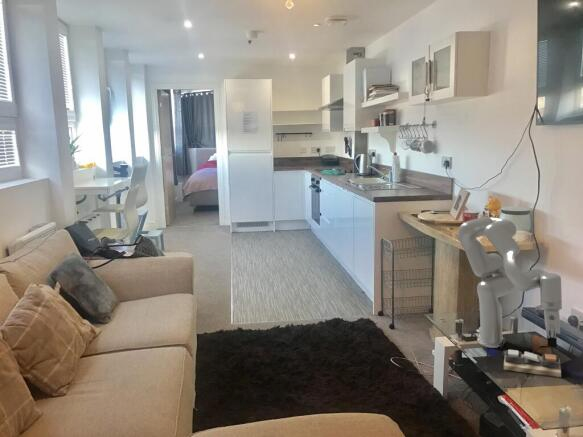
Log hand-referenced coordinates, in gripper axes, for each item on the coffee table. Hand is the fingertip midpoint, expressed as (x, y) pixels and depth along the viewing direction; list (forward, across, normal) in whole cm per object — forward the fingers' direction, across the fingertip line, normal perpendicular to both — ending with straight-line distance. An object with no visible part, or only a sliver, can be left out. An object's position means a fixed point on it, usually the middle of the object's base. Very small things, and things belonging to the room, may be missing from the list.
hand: (552, 346), depth 189 cm
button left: (+7, +1, +15) cm, 16 cm away
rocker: (+6, +1, +8) cm, 10 cm away
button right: (+7, +1, +1) cm, 7 cm away
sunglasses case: (+11, +18, +4) cm, 21 cm away
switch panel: (+10, +1, +8) cm, 13 cm away
